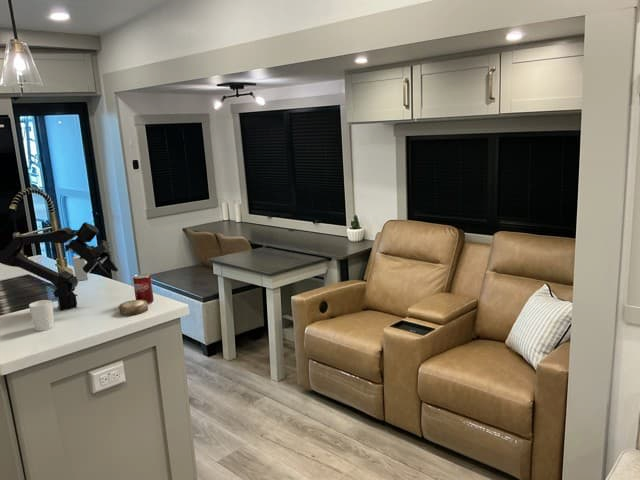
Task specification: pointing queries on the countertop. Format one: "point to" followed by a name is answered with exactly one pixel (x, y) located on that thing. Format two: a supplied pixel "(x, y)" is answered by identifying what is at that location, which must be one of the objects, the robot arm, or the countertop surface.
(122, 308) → the pedestal
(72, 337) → the countertop surface
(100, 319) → the countertop surface
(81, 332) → the countertop surface
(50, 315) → the white cup
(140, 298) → the soda can
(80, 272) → the skincare box
